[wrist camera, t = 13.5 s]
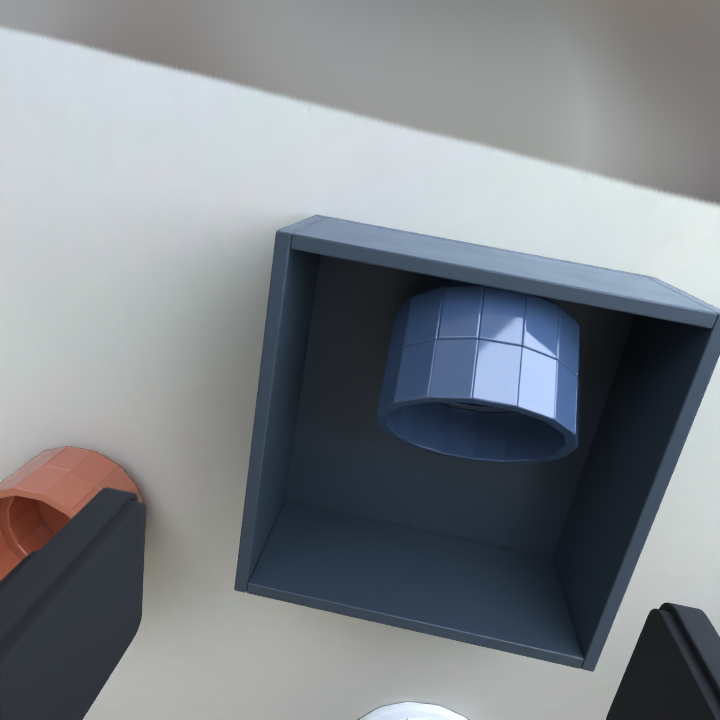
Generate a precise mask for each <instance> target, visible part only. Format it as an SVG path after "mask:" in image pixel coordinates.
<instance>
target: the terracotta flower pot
mask: <svg viewBox="0 0 720 720" xmlns="http://www.w3.org/2000/svg"><path fill="white" fill-rule="evenodd" d="M106 487H109V488H114V489H119V490H123V491H128V492H133V493H136V494H137V496H138V502H142V503H143V500H142V498H141V495H140V493H139V490H138V488H137V486H136V484H135V483H134V482H133V480H132V479H131V478H130V477H129V476H128V475H127V474H126V473H125V471H124V470H123V469H122V468H121V467H120V466H118V464H116V463H115V462H113V461H111V460H110V459H108V458H106V457H104V456H103V455H101V454H99V453H97V452H96V451H95V452H94V451H91V450H86V449H81V448H76V447H71V446H70V447H68V446H66V447H60V448H55V449H50V450H45V451H43V452H42V453H40V454H39V455H38V456H36V457H35V458H33V459H32V460H31V461H29V462H28V463H27V464H25V465H24V466H22V467H21V468H20V469H18V470H17V471H16V472H14V473H13V474H11V475H10V476H9V477H7V478H6V479H4V480H3V481H2V482H0V581H1V580H2V579H3V578H4V577H5V576H6V575H7V574H8V573H9V572H10V571H11V570H12V569H13V568H14V567H15V566H17V565H18V564H19V563H20V562H21V561H22V560H23V559H24V558H25V557H26V556H27V555H29V554H30V553H31V552H33V551H36V550H39V549H41V548H42V547H43V546H44V545H45V544H46V543H47V542H48V541H49V540H50V539H51V538H53V537H54V536H55V535H56V534H57V533H58V532H59V531H60V530H61V529H62V528H63V527H64V526H65V525H66V524H67V523H68V522H69V521H70V520H71V519H72V518H73V517H74V516H75V515H76V514H77V513H78V512H79V511H80V510H81V509H82V508H83V507H84V506H85V505H86V504H87V503H88V502H89V501H90V500H91V499H92V498H93V497H94V496H95V495H96V494H97V493H98V492H99V491H100V490H102V489H103V488H106ZM145 528H146V520H145Z"/></svg>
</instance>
